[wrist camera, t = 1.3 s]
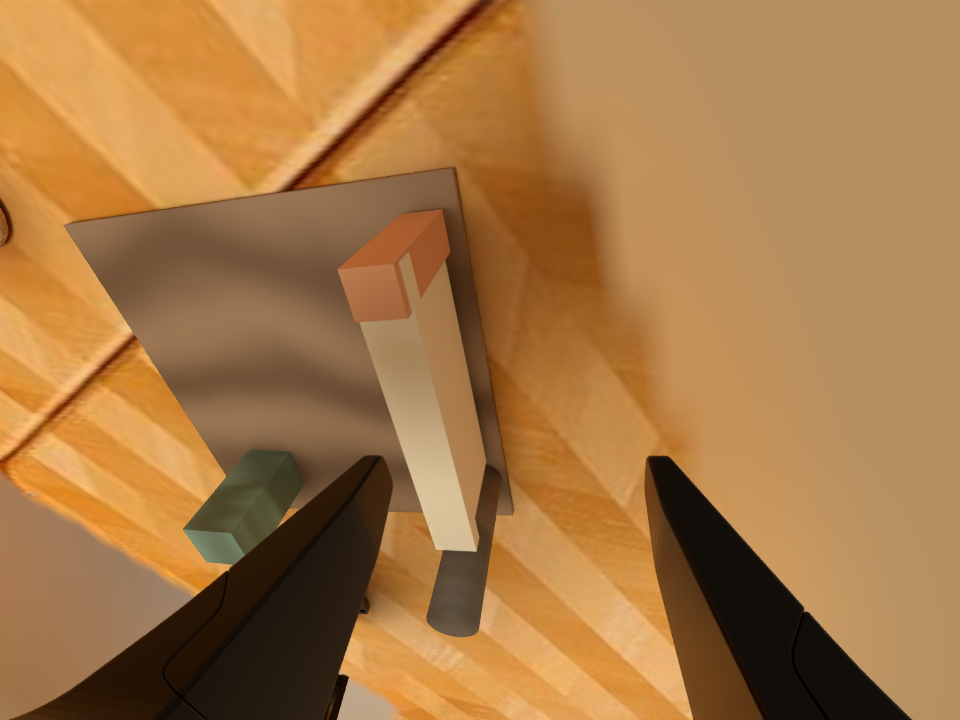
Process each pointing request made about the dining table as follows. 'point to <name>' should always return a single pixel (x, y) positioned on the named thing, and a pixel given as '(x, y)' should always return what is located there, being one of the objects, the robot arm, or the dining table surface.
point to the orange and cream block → (422, 368)
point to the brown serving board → (291, 354)
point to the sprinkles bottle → (3, 228)
